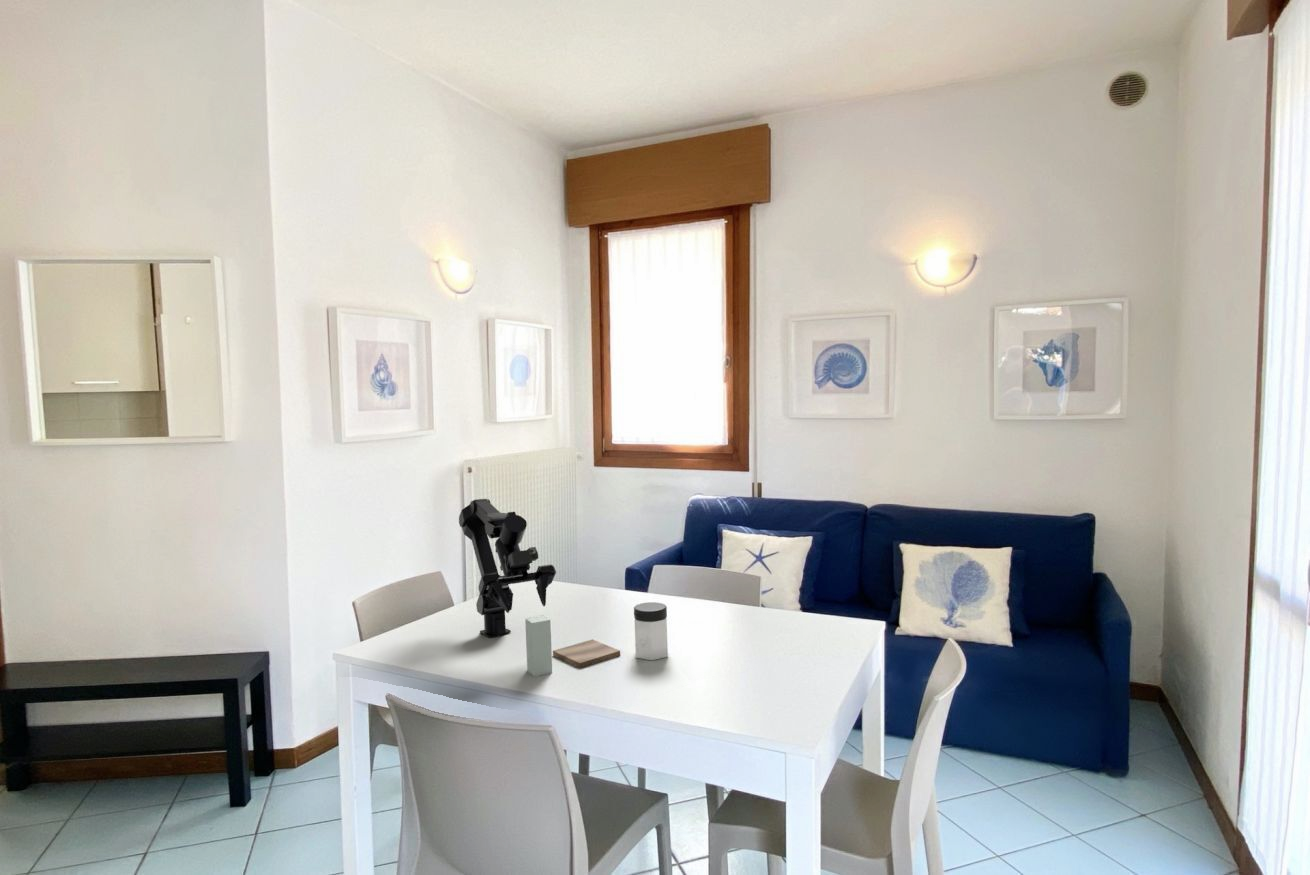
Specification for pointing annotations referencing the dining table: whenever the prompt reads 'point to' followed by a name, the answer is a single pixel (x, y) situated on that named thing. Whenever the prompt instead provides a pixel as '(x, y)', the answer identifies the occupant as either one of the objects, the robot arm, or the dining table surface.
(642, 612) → the jar
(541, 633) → the pale green square post
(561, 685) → the dining table surface
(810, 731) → the dining table surface
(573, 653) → the plate
